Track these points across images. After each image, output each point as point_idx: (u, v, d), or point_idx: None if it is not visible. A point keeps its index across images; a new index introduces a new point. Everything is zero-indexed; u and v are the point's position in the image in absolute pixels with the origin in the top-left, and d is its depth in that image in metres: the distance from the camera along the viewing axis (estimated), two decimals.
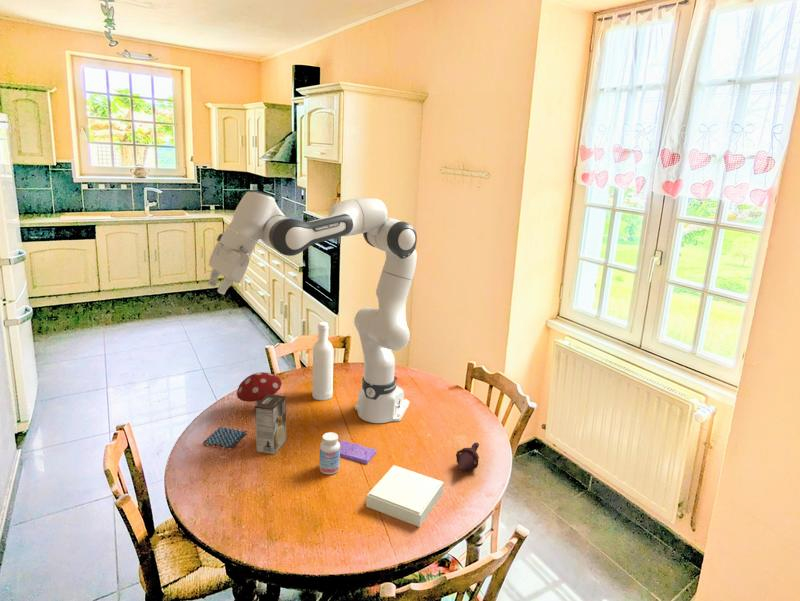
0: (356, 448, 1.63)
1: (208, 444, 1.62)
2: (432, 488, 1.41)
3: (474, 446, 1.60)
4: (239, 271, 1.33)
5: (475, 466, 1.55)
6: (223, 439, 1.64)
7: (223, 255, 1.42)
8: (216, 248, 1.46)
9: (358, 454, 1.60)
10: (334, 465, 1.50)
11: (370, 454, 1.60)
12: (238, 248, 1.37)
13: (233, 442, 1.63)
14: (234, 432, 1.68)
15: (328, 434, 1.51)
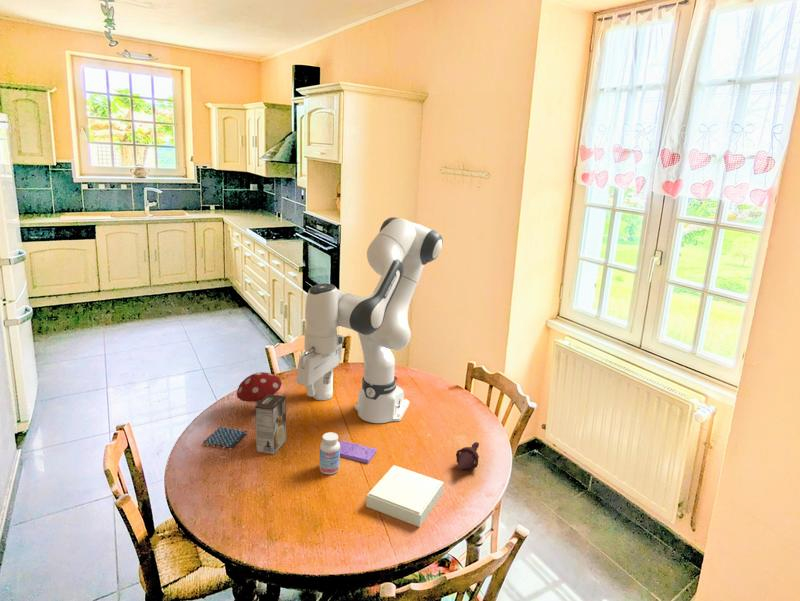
0: (356, 448, 1.63)
1: (208, 444, 1.62)
2: (432, 488, 1.41)
3: (474, 446, 1.61)
4: (302, 375, 1.33)
5: (475, 465, 1.56)
6: (223, 439, 1.64)
7: None
8: None
9: (359, 454, 1.60)
10: (334, 465, 1.50)
11: (371, 453, 1.60)
12: None
13: (233, 442, 1.63)
14: (234, 432, 1.68)
15: (328, 434, 1.51)
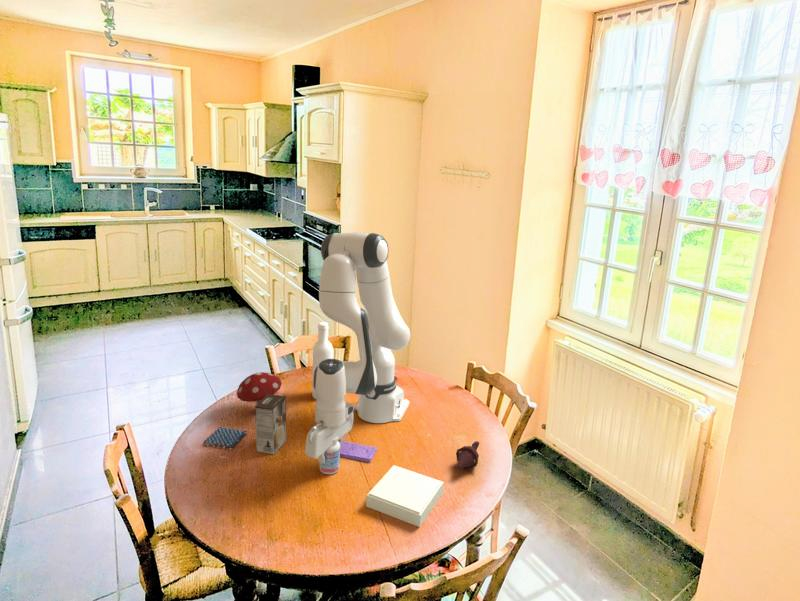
0: (356, 447, 1.64)
1: (208, 444, 1.62)
2: (432, 488, 1.41)
3: (474, 445, 1.61)
4: (310, 449, 1.42)
5: (475, 464, 1.56)
6: (223, 439, 1.64)
7: None
8: None
9: (360, 453, 1.60)
10: (334, 465, 1.50)
11: (371, 452, 1.61)
12: None
13: (233, 442, 1.63)
14: (234, 432, 1.68)
15: None
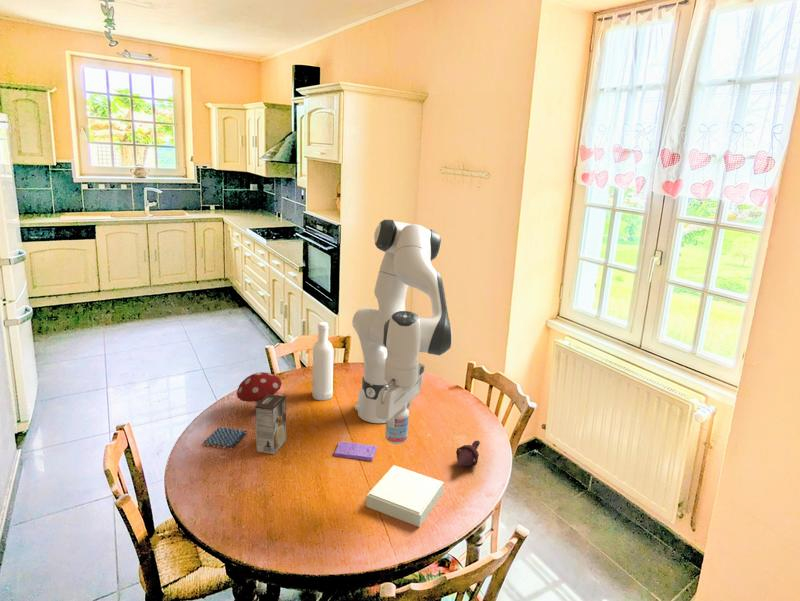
0: (356, 447, 1.64)
1: (208, 444, 1.62)
2: (432, 488, 1.41)
3: (475, 444, 1.62)
4: (382, 409, 1.26)
5: (474, 463, 1.57)
6: (223, 439, 1.64)
7: None
8: None
9: (361, 452, 1.61)
10: (403, 434, 1.35)
11: (372, 451, 1.62)
12: None
13: (233, 442, 1.63)
14: (234, 432, 1.68)
15: None
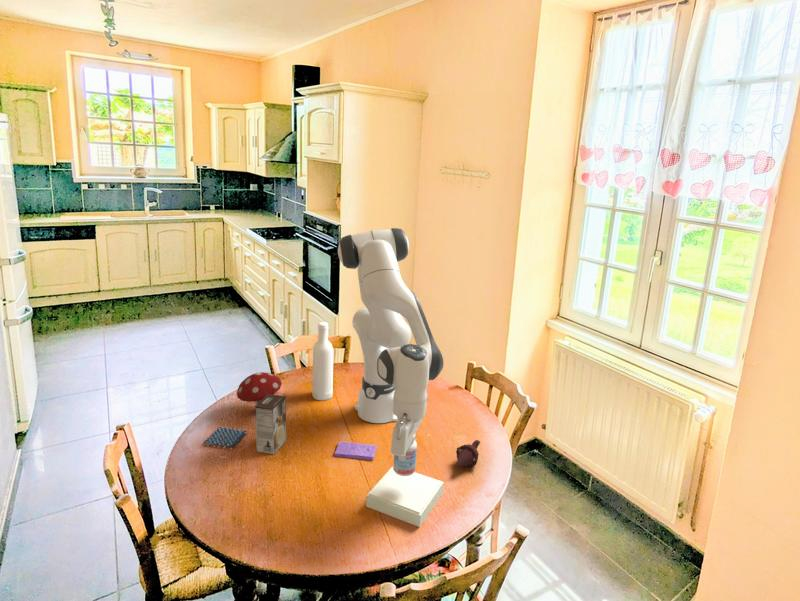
0: (356, 447, 1.64)
1: (208, 444, 1.62)
2: (432, 488, 1.41)
3: (475, 443, 1.62)
4: (398, 446, 1.26)
5: (474, 463, 1.57)
6: (223, 439, 1.64)
7: None
8: None
9: (361, 452, 1.61)
10: (412, 466, 1.36)
11: (373, 450, 1.62)
12: (402, 416, 1.30)
13: (234, 442, 1.63)
14: (234, 432, 1.68)
15: None
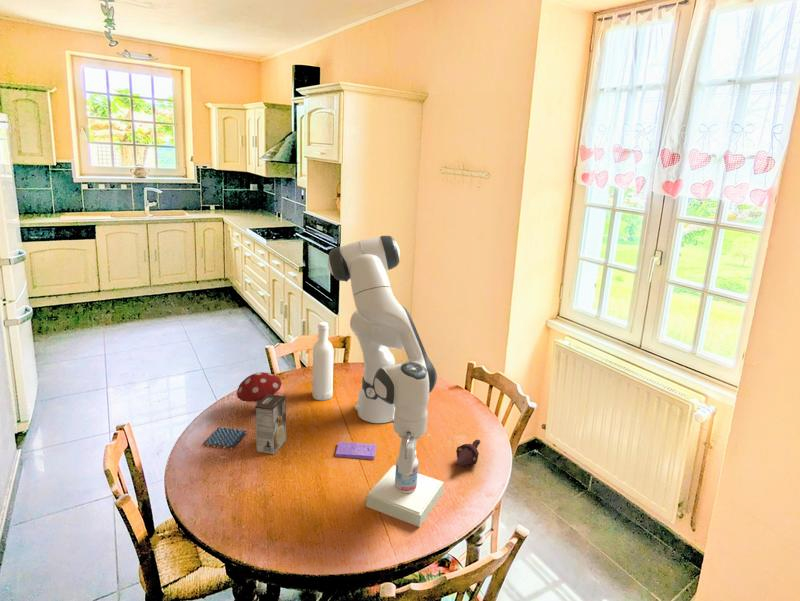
0: (356, 446, 1.64)
1: (208, 444, 1.62)
2: (432, 488, 1.41)
3: (475, 443, 1.62)
4: (405, 464, 1.28)
5: (474, 462, 1.57)
6: (223, 439, 1.64)
7: None
8: None
9: (362, 452, 1.61)
10: (415, 482, 1.39)
11: (373, 450, 1.63)
12: (405, 434, 1.32)
13: None
14: (234, 432, 1.68)
15: None
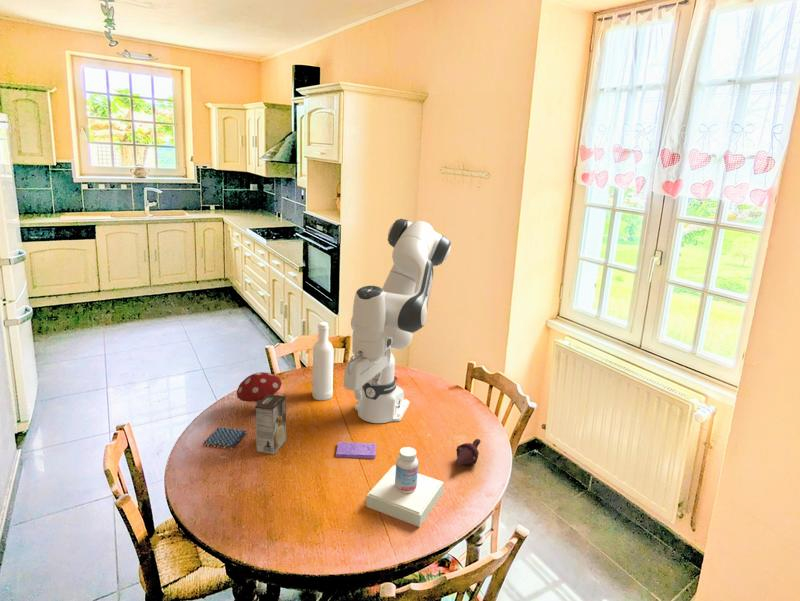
0: (356, 446, 1.64)
1: (209, 444, 1.62)
2: (432, 488, 1.41)
3: (475, 442, 1.62)
4: (349, 380, 1.32)
5: (474, 462, 1.58)
6: (223, 439, 1.64)
7: None
8: None
9: (362, 451, 1.61)
10: (415, 482, 1.39)
11: (373, 449, 1.63)
12: None
13: (234, 441, 1.63)
14: (234, 432, 1.68)
15: (405, 450, 1.38)
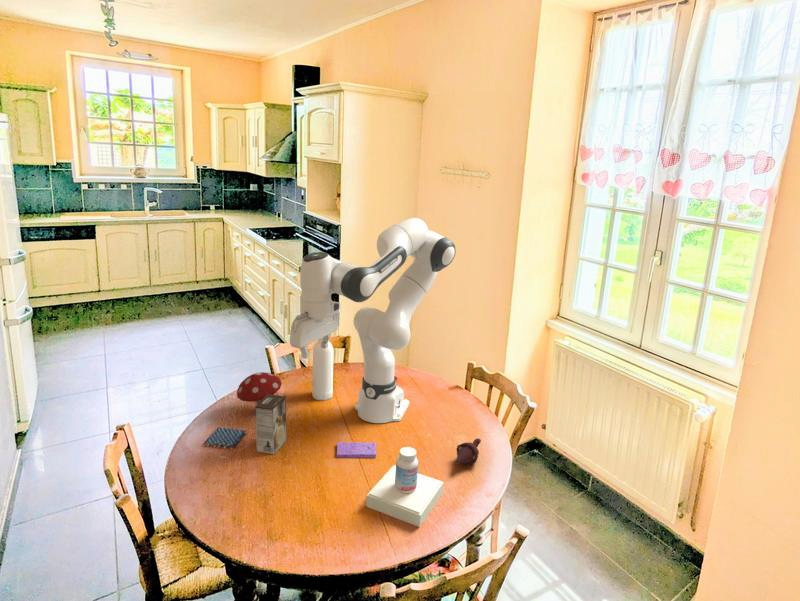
0: (356, 446, 1.64)
1: (209, 444, 1.62)
2: (432, 488, 1.41)
3: (475, 441, 1.63)
4: (294, 337, 1.41)
5: (474, 461, 1.58)
6: (223, 439, 1.64)
7: None
8: None
9: (363, 451, 1.62)
10: (415, 482, 1.39)
11: (373, 448, 1.64)
12: None
13: (234, 441, 1.63)
14: (234, 432, 1.68)
15: (405, 450, 1.38)
